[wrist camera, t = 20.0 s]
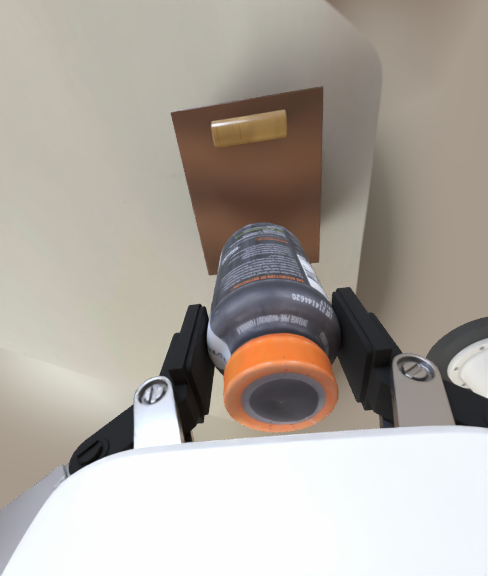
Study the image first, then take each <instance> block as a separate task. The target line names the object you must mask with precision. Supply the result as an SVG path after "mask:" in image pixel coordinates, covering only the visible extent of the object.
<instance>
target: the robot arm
mask: <svg viewBox="0 0 488 576" xmlns="http://www.w3.org/2000/svg"><path fill="white" fill-rule="evenodd" d="M332 307H333V309H334V311H335V314H336V315H337V317H338V320H339V323H340V328H341V344H340V349H339V352H338V354H337V356H338V358H339V361H340V363H341V366H342V368H343V371H344V373H345V375H346V377H347V380H348V382H349V385H350V387H351V389H352V392H353V394H354V397H355V399H356V401H357V402H361V403H362V405H363V408H364V410H373V411H374V412H375V413H377V414H379V417H380V429H367V430H351V431H338V432H337V431H336V432H322V433H308V434H294V435H280V436H267V437H253V438H240V439H228V440H215V441H202V442H194V437H193V433H192V429H193V428H194V427H195V426H196V425H197V424H198V423H203V422H204V416H205V415H208V413H209V407H210V399H211V392H212V384H213V376H214V368H215V364H214V363H213V362H212V360H211V358H210V356H209V352H208V348H207V328H208V323H209V318H208V314H207V310H206V307H205V306H204V307H202V305H201V304H196V305H189V307H188V309H187V312H186V316H185V319H184V322H183V325H182V328H181V331H180V333H175V334H174V336H173V338H172V341H171V344H170V347H169V349H168V352H167V355H166V358H165V361H164V364H163V366H162V369H161V372H160V375H159V376H156V377H152V378H150V379H148V380H146V381H145V382H144V383H142V384H141V385H140V386H139V388H138V389H137V390H136V392H135V395H134V404H133V405H132V406H131V407H129V408H128V409H127V410H125V411H124V412H123V413H121V414H120V415H119V416H117V417H116V418H115V419H113V420H112V421H111V422H109V423H108V424H107V425H105V426H104V427H103V428H101V429H100V430H98V432H96V433H95V434H93V435H92V436H91V437H89V438H88V439H86V440H85V441H84V442H83V443H82V444H81V445H80V446H79V447H78V448H77V450H76V451H75V452H74V453H73V455H72V457H71V459H70V462H69V463H68V464H67V465H66V466H64V465H63V464H61V465H60V466H58V467H57V468H56V469H54V470H53V471H52V472H50V473H49V474H48V475H46V476H45V477H44V478H42V479H41V480H40V481H39V482H37V483H36V484H34V485H33V486H32V487H30V488H29V489H28V490H27V491H25V492H24V493H23V494H21V495H20V496H18V497H17V498H16V499H14V500H13V501H12V502H11V503H9V504H8V505H6V506H5V507H4V508H2V509H1V510H0V576H488V338H486V339H483V340H480V341H477V342H475V343H473V344H471V345H469V346H467V347H466V348H464V349H463V350H461V351H460V352H459V353H458V354H457V355H455V356H454V358H453V359H452V360H451V361H450V363H449V365H448V369H447V374H448V377H449V378H450V379H451V381H452V382H453V383H454V384H453V383H451V382H449V381H447V380H444V379H442V378H441V374H440V372H439V370H438V368H437V367H436V366H435V365H434V363H433V362H431V361H430V360H428V359H427V358H424V357H422V356H420V355H416V354H411V353H402V352H401V350H400V349H399V347H398V346H397V345H396V343H395V342H394V341H393V339H392V338H391V336H390V335H389V334H388V332H387V331H386V330H385V328H384V327H383V325H382V324H381V323H380V321H379V320H378V319H377V317H376V316H375V315H374V314H373V313H368V312H367V311H366V309H365V308H364V307H363V305H362V304H361V302H360V301H359V300H358V298H357V297H356V295H355V294H354V292H353V291H352V289H351V288H350V287H346V288H337V290H336V292H333V293H332ZM465 388H469V389H471V390H472V391H473V392H472V391H470V390H467V389H465Z"/></svg>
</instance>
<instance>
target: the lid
mask: <svg viewBox="0 0 488 576" xmlns="http://www.w3.org/2000/svg"><path fill="white" fill-rule="evenodd" d="M171 116H172V121H173V125H174V129H175V133H176V138H177V142H178V146H179V150H180V155H181V159H182V163H183V168H184V172H185V176H186V180H187V185H188V189H189V193H190V197H191V202H192V206H193V210H194V214H195V219H196V223H197V227H198V231H199V236H200V240H201V244H202V248H203V253H204V257H205V261H206V265H207V270H208V274H209V275H217V274H218V268H219V263H220V257H221V253H222V249H223V247H224V245H225V243H226V242H227V240H228V239H229V238H230V237H231V236H232V235H233V234H234V233H235V232H236V231H238V230H240V229H241V228H243V227H244V226H247V225H250V224H254V223H272V224H276V225H280V226H282V227H284V228H286V229H287V230H289V231H290V232H291V233H292V234H293V235H294V236H295V237H296V238H297V239H298V241H299V242H300V244H301V246H302V248H303V250H304V252H305V254H306V256H307V258H308V260H309V262H310V263H318V262H319V244H320V202H321V161H322V119H323V86H322V87H316V88H310V89H304V90H298V91H292V92H286V93H280V94H274V95H268V96H262V97H256V98H250V99H244V100H238V101H232V102H226V103H220V104H214V105H208V106H202V107H196V108H190V109H184V110H178V111H172V112H171Z"/></svg>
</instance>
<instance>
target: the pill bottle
mask: <svg viewBox="0 0 488 576" xmlns="http://www.w3.org/2000/svg"><path fill="white" fill-rule="evenodd" d="M340 344H341V328H340V323H339V320H338V317H337V315H336V314H335V311H334V309H333V307H332V305H331V304H330V301H329V299H328V297H327V296H326V294H325V292H324V289H323V287H322V285H321V283H320V281H319V279H318V277H317V276H316V274H315V272H314V270H313V268H312V266H311V264H310V262H309V260H308V258H307V256H306V254H305V252H304V250H303V248H302V246H301V244H300V242H299V241H298V239H297V238H296V237H295V236H294V235H293V234H292V233H291V232H290V231H289V230H287V229H286V228H284V227H282V226H280V225H276V224H272V223H254V224H250V225H247V226H244V227H243V228H241V229H240V230H238V231H236V232H235V233H234V234H233V235H232V236H231V237H230V238H229V239H228V240H227V242H226V243H225V245H224V247H223V249H222V253H221V257H220V263H219V268H218V274H217V279H216V285H215V289H214V295H213V301H212V304H211V312H210V317H209V323H208V328H207V348H208V352H209V356H210V358H211V360H212V362H213V363H214V364H215V367H216V368H217V369H218V370H219V372H220V373H221V374H222V375H223V376H224V404H225V407H226V409H227V411H228V413H229V414H230V415H231V417H232V418H233V419H235V420H236V421H238V422H239V423H240V424H243V425H244V426H247V427H249V428H252V429H255V430H259V431H264V432H288V431H295V430H300V429H303V428H306V427H309V426H312V425H314V424H316V423H318V422H319V421H321V420H322V419H324V418H325V417H326V416H327V415H328V414H329V413H331V411H332V410H333V409H334V407H335V405H336V403H337V400H338V386H337V383H336V380H335V377H334V374H333V372H332V366H331V365H332V363H333V362H334V360H335V359H336V357H337V354H338V352H339V349H340Z"/></svg>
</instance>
